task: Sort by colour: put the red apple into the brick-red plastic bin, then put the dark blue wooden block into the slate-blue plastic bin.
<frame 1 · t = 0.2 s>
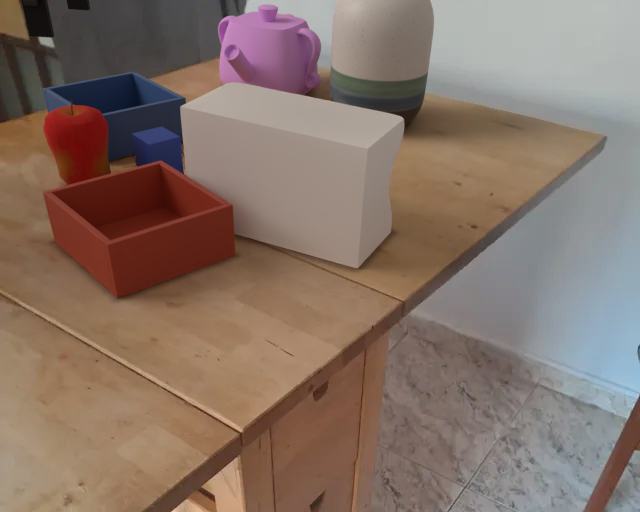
hand: (61, 22, 85), 21 cm above the table, tool pointing down, fingers open, 13 cm apart
blue bin: (120, 136, 115), on the table
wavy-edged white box: (302, 218, 96), on the table
block: (161, 182, 102), on the table
vase: (374, 121, 125), on the table
teapot: (264, 92, 135), on the table
red bin: (144, 249, 88), on the table
apple: (87, 185, 101), on the table
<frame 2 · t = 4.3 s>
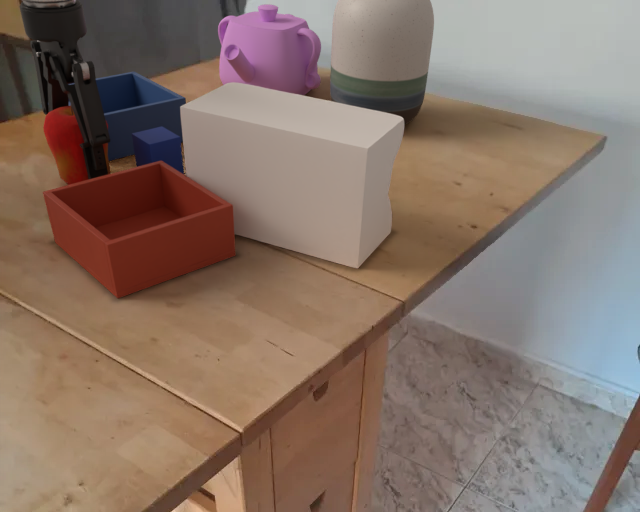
hand: (86, 178, 101), 1 cm above the table, tool pointing down, fingers closed on apple, 8 cm apart
apple: (87, 185, 101), on the table, touching gripper
everything else where it was.
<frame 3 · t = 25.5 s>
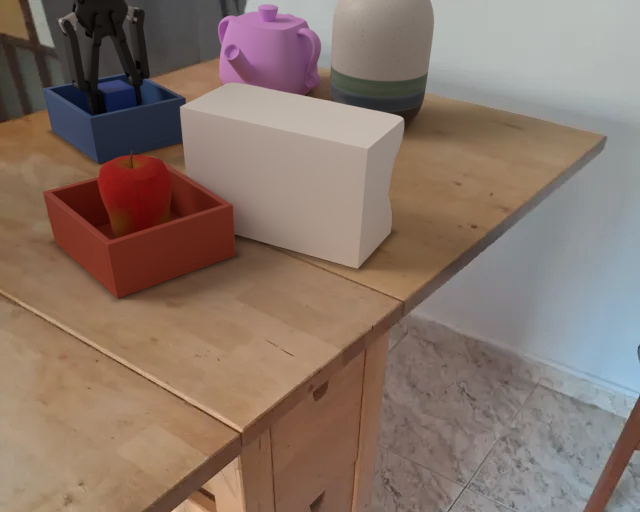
hand: (119, 129, 114), 1 cm above the table, tool pointing down, fingers closed on block, 5 cm apart
block: (119, 131, 115), point 1 cm above the table, touching blue bin, gripper
apple: (144, 244, 87), point 1 cm above the table, touching red bin
everything else where it was.
when the fingers open (2 cm above the table, at t = 26.4 s): block stays where it is, resting on blue bin.
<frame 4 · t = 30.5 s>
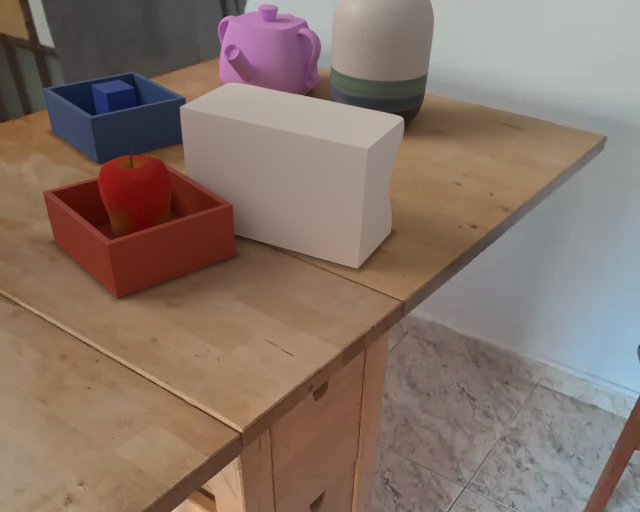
block: (120, 131, 115), point 1 cm above the table, touching blue bin
everything else where it was.
at the end: apple inside the target area in the red bin (0.1 cm from its centre), point 0.6 cm above the red bin's base; block inside the target area in the blue bin (0.1 cm from its centre), point 0.8 cm above the blue bin's base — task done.
